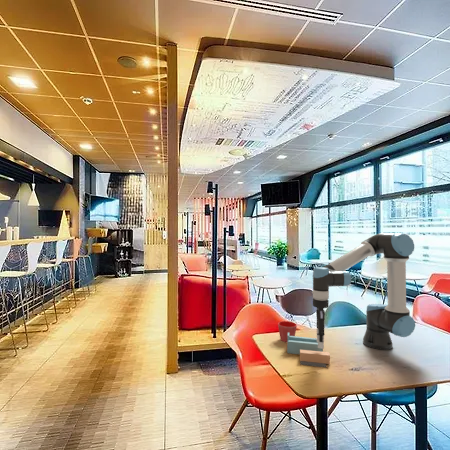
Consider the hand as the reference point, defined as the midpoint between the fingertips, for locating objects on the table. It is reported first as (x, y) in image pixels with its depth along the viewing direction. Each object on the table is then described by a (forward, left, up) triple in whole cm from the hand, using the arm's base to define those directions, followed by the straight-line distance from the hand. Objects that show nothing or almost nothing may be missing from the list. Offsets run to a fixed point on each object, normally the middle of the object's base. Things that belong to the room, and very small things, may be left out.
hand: (320, 345), depth 147 cm
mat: (+4, 0, -9) cm, 9 cm away
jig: (+7, -11, -9) cm, 16 cm away
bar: (+3, 0, -8) cm, 8 cm away
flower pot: (+17, -26, -9) cm, 32 cm away
